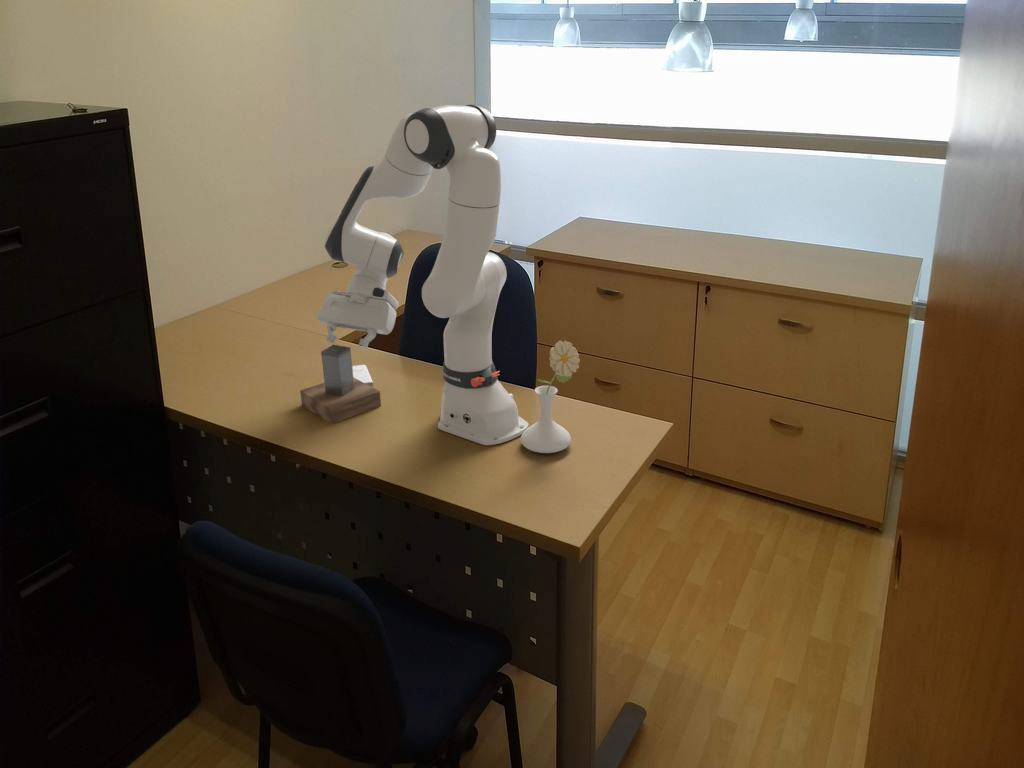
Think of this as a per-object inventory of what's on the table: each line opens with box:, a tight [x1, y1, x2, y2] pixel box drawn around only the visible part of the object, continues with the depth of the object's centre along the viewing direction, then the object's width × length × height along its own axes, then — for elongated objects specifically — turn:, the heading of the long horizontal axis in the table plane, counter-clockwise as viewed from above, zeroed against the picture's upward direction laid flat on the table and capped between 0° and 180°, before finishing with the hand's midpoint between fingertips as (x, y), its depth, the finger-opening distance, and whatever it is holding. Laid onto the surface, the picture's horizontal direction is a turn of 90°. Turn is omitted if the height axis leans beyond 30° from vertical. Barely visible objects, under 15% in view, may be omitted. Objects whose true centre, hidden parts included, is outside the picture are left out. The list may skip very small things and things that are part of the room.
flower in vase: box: [520, 340, 581, 454], centre depth 189 cm, size 13×11×25 cm
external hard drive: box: [352, 364, 374, 387], centre depth 228 cm, size 2×8×12 cm
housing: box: [320, 344, 354, 397], centre depth 209 cm, size 5×5×11 cm
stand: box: [299, 377, 382, 424], centre depth 213 cm, size 14×14×4 cm
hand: (346, 344), depth 211 cm, fingers open, 8 cm apart
